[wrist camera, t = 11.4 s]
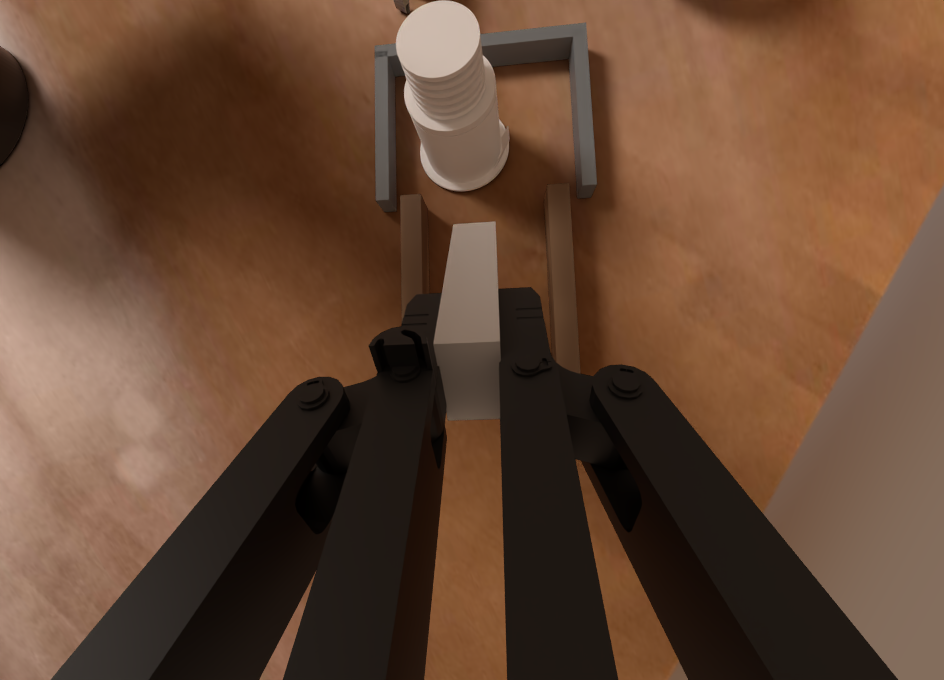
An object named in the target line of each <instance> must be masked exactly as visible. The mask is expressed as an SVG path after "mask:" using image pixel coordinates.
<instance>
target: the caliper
mask: <svg viewBox="0 0 944 680" xmlns="http://www.w3.org/2000/svg"><path fill="white" fill-rule="evenodd" d="M394 3H395V6H396V8H397V9H399V10H401V11H403V12H405V13H407V14H409V13H410V7H409V0H394Z"/></svg>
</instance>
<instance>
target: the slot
mask: <svg viewBox="0 0 944 680" xmlns="http://www.w3.org/2000/svg"><path fill="white" fill-rule="evenodd" d="M544 212H545V231H546V251H547V270H548V289H549V308H550V327H551V346H552V357H553V358H554V360H555V361H556V362H557V363H558V364H559V365H560V366H562V367H563V368H565V369H567V370H569V371H572V372H576V373H579V374H581V373H580V356H579V339H578V322H577V305H576V289H575V272H574V255H573V238H572V222H571V205H570V188H569V183H560V184H547V189H546V193H545V198H544ZM400 216H401V296H402V320H403V317H404V313H405V310H406V306H407V304H408V303H409V302H410V301H411V300H412V298H413V297H414V296H415V295H416V294H429V245H428V208H427V206H426V204H425V202H424V200H423V198H422V196H421V194H412V195H400Z"/></svg>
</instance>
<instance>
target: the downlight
mask: <svg viewBox="0 0 944 680" xmlns="http://www.w3.org/2000/svg"><path fill="white" fill-rule="evenodd" d="M396 50H397V55H398V58H399V60H400V63H401V66H402V68H403V71H404V73H405V76H406V79H407V80H406V83H405V88H404V99H405V104H406V107H407V109H408V111H409V114H410V116H411V119H412V121H413V123H414V126H415V128H416V131H417V133H418V135H419V138H420V140H421V148H420V157H421V162H422V165H423V168H424V170H425V172H426V173H427V175H428V176H429V178H430V179H431V180H432V181H433V182H435V183H436V184H437V185H439V186H441V187H443V188H445V189H448V190H451V191H460V192H463V191H471V190H475V189H478V188H480V187H482V186H484V185H486V184H488V183H489V182H491V181H492V180H493V179H494V178H495V177H496V176H497V175H498V174H499V173H500V171H501V170H502V168H503V167H504V165H505V163H506V160H507V157H508V153H509V140H510V137H509V127H508V126H507V128H506V129H505V127H504V125H503V124H502V122H501V121H500V120H499V114H498V102H497V91H496V79H495V73H494V70H493V68H492V66H491V64H490V63H489V61H488V60H487V59H486V58H485V57H484V56H483V54H482V46H481V37H480V28H479V24H478V21H477V19H476V17H475V16H474V14H473V13H472V12H471V11H470V10H469V9H468V8H467V7H465V6H464V5H462V4H460V3H457V2H453V1H445V0H442V1H434V2H430V3H427V4H425V5H423V6H421V7H419V8H417V9H416V10H414V11H413V12H412V13H411V14H410V15H409V16H408V17H407V18H406V19H405V20H404V22H403V23H402V25H401V27H400V29H399V31H398V34H397V38H396Z"/></svg>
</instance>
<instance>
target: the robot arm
mask: <svg viewBox="0 0 944 680" xmlns="http://www.w3.org/2000/svg"><path fill="white" fill-rule="evenodd" d="M27 108H28V92H27V85H26V81H25V77H24V74H23V72H22V70H21V68H20V66H19V64H18V63H17V61H16V60H15V59H14V57H13V56H12V55H11V54H10V53H9V52H8V51H6V50H5V49H4V48H2V47H1V46H0V165H1V164H2V163H3V162H4V160H5V159H6V158H7V157H8V155H9V154H10V153H11V151H12V150H13V148H14V146H15V145H16V143H17V141H18V139H19V137H20V134H21V132H22V129H23V126H24V123H25V119H26V114H27ZM369 348H370V351H371V354H372V357H373V360H374V363H375V366H376V369H377V372H378V373H377V376H376V377H374V378H372V379H370V380H367V381H364V382H361V383H358V384H354V385H351V386H347V387H343V385H342V384H341V383H340V382H339V381H338V380H337V379H334V378H331V377H317V378H313V379H310V380H307V381H305V382H303V383H301V384H300V385H298V386H297V387H295V388H294V389H293V390H292V391H291V392H290V393H289V394H288V395H287V396H286V398H285V399H284V400H283V401H282V402H281V404H280V405H279V406H278V407H277V408H276V410H275V411H274V412H273V413H272V414H271V416H270V417H269V418H268V419H267V420H266V422H265V423H264V424H263V425H262V426H261V428H260V429H259V430H258V431H257V432H256V434H255V435H254V436H253V437H252V438H251V440H250V441H249V442H248V443H247V444H246V446H245V447H244V448H243V449H242V450H241V452H240V453H239V454H238V455H237V456H236V458H235V459H234V460H233V461H232V462H231V464H230V465H229V466H228V467H227V468H226V470H225V471H224V472H223V473H222V475H221V476H220V477H219V478H218V479H217V481H216V482H215V483H214V484H213V485H212V487H211V488H210V489H209V490H208V491H207V493H206V494H205V495H204V496H203V497H202V499H201V500H200V501H199V502H198V503H197V505H196V506H195V507H194V508H193V509H192V511H191V512H190V513H189V514H188V515H187V517H186V518H185V519H184V520H183V521H182V523H181V524H180V525H179V526H178V527H177V529H176V530H175V531H174V532H173V533H172V535H171V536H170V537H169V538H168V539H167V541H166V542H165V543H164V544H163V545H162V547H161V548H160V549H159V550H158V551H157V553H156V554H155V555H154V556H153V557H152V559H151V560H150V561H149V562H148V563H147V565H146V566H145V567H144V568H143V569H142V571H141V572H140V573H139V574H138V575H137V577H136V578H135V579H134V580H133V581H132V583H131V584H130V585H129V586H128V587H127V589H126V590H125V591H124V592H123V594H122V595H121V596H120V597H119V598H118V600H117V601H116V602H115V603H114V604H113V606H112V607H111V608H110V609H109V610H108V612H107V613H106V614H105V615H104V616H103V618H102V619H101V620H100V621H99V622H98V624H97V625H96V626H95V627H94V628H93V630H92V631H91V632H90V633H89V634H88V636H87V637H86V638H85V639H84V640H83V642H82V643H81V644H80V645H79V646H78V648H77V649H76V650H75V651H74V652H73V654H72V655H71V656H70V657H69V658H68V660H67V661H66V662H65V663H64V664H63V666H62V667H61V668H60V669H59V670H58V672H57V673H56V674H55V675H54V676H53V678H52V679H51V680H259V679H260V677H261V675H262V673H263V671H264V669H265V667H266V665H267V663H268V662H269V660H270V658H271V656H272V654H273V652H274V650H275V648H276V646H277V644H278V642H279V641H280V639H281V637H282V635H283V633H284V631H285V629H286V627H287V625H288V623H289V621H290V619H291V618H292V616H293V614H294V612H295V610H296V608H297V606H298V604H299V602H300V600H301V598H302V597H303V595H304V593H305V591H306V589H307V587H308V585H309V583H310V581H311V579H312V577H313V576H314V574H315V572H316V574H315V577H314V580H313V583H312V587H311V590H310V593H309V596H308V600H307V603H306V606H305V609H304V613H303V616H302V619H301V622H300V626H299V629H298V632H297V635H296V639H295V642H294V645H293V648H292V652H291V655H290V658H289V661H288V665H287V668H286V671H285V674H284V678H283V680H424V675H425V665H426V654H427V643H428V633H429V622H430V612H431V601H432V591H433V580H434V569H435V559H436V548H437V538H438V527H439V517H440V506H441V495H442V485H443V474H444V464H445V453H446V443H447V435H446V429H445V416H446V412H447V418H448V420H484V419H500V430H501V467H502V504H503V541H504V578H505V615H506V652H507V680H618V676H617V671H616V666H615V661H614V655H613V650H612V645H611V640H610V635H609V630H608V625H607V620H606V614H605V609H604V604H603V599H602V594H601V589H600V584H599V579H598V573H597V568H596V563H595V558H594V553H593V548H592V543H591V537H590V532H589V527H588V522H587V517H586V512H585V507H584V502H583V496H582V491H581V486H580V481H579V476H578V471H577V466H576V461H575V459H577V460H581V461H582V464H583V466H584V468H585V470H586V472H587V474H588V476H589V478H590V480H591V482H592V484H593V486H594V488H595V490H596V492H597V495H598V497H599V499H600V501H601V503H602V505H603V507H604V509H605V511H606V513H607V515H608V517H609V519H610V521H611V523H612V525H613V527H614V529H615V531H616V533H617V535H618V537H619V539H620V541H621V543H622V545H623V547H624V550H625V552H626V554H627V556H628V558H629V560H630V562H631V564H632V566H633V568H634V570H635V572H636V574H637V576H638V578H639V580H640V582H641V584H642V586H643V588H644V590H645V592H646V594H647V596H648V598H649V600H650V602H651V605H652V607H653V609H654V611H655V613H656V615H657V617H658V619H659V621H660V623H661V625H662V627H663V629H664V631H665V633H666V635H667V637H668V639H669V641H670V643H671V645H672V647H673V649H674V651H675V653H676V655H677V657H678V660H679V662H680V664H681V666H682V667H683V670H684V672H685V674H686V676H687V678H688V680H898V679H897V678H896V676H895V675H894V674H893V673H892V672H891V671H890V669H889V668H888V667H887V665H886V664H885V663H884V662H883V661H882V659H881V658H880V657H879V656H878V654H877V653H876V652H875V651H874V650H873V648H872V647H871V646H870V645H869V644H868V642H867V641H866V640H865V639H864V637H863V636H862V635H861V634H860V632H859V631H858V630H857V629H856V627H855V626H854V625H853V624H852V622H851V621H850V620H849V619H848V618H847V616H846V615H845V614H844V613H843V611H842V610H841V609H840V608H839V607H838V605H837V604H836V603H835V602H834V600H833V599H832V598H831V597H830V595H829V594H828V593H827V592H826V591H825V589H824V588H823V587H822V586H821V584H820V583H819V582H818V581H817V579H816V578H815V577H814V576H813V575H812V573H811V572H810V571H809V570H808V568H807V567H806V566H805V565H804V564H803V562H802V561H801V560H800V559H799V557H798V556H797V555H796V554H795V552H794V551H793V550H792V549H791V548H790V546H789V545H788V544H787V543H786V542H785V540H784V539H783V538H782V537H781V535H780V534H779V533H778V532H777V530H776V529H775V528H774V527H773V525H772V524H771V523H770V522H769V521H768V519H767V518H766V517H765V516H764V514H763V513H762V512H761V511H760V509H759V508H758V507H757V506H756V505H755V503H754V502H753V501H752V500H751V498H750V497H749V496H748V495H747V494H746V492H745V491H744V490H743V489H742V487H741V486H740V485H739V484H738V482H737V481H736V480H735V479H734V478H733V476H732V475H731V474H730V473H729V471H728V470H727V469H726V468H725V466H724V465H723V464H722V463H721V462H720V460H719V459H718V458H717V457H716V455H715V454H714V453H713V452H712V451H711V449H710V448H709V447H708V446H707V444H706V443H705V442H704V441H703V439H702V438H701V437H700V436H699V435H698V433H697V432H696V431H695V430H694V428H693V427H692V426H691V425H690V424H689V422H688V421H687V420H686V419H685V417H684V416H683V415H682V414H681V412H680V411H679V410H678V409H677V408H676V406H675V405H674V404H673V403H672V401H671V400H670V399H669V398H668V396H667V395H666V394H665V393H664V392H663V390H662V389H661V388H660V387H659V385H658V384H657V383H656V382H655V381H654V379H652V378H651V377H650V376H649V375H648V374H647V373H646V372H644V371H641V370H639V369H637V368H635V367H632V366H626V365H609V366H607V367H604V368H602V369H600V370H599V371H598V372H597V373H596V374H595V375H594V376H589V375H584V374H579V373H576V372H572V371H569V370H567V369H565V368H563V367H562V366H560V365H559V364H558V363H557V362H556V361H555V360H554V358H553V357H552V356H551V353H550V349H549V344H548V338H547V333H546V328H545V322H544V319H543V311H542V306H541V301H540V296H539V295H538V294H537V293H536V292H535V291H534V290H533V289H532V288H531V287H525V288H506V289H498V268H497V245H496V223H495V222H481V223H465V224H453V230H452V236H451V242H450V248H449V254H448V260H447V266H446V271H445V277H444V283H443V289H442V293H432V294H416V295H415V296H414V297H413V298H412V300H411V301H410V302H409V303H408V304H407V306H406V310H405V313H404V317H403V320H402V326H401V327H396V328H391V329H389V330H386V331H384V332H382V333H380V334H379V335H378V336H376V337H375V338H374V339H373V340H372V342H371V343H370V345H369ZM316 570H317V571H316Z"/></svg>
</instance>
